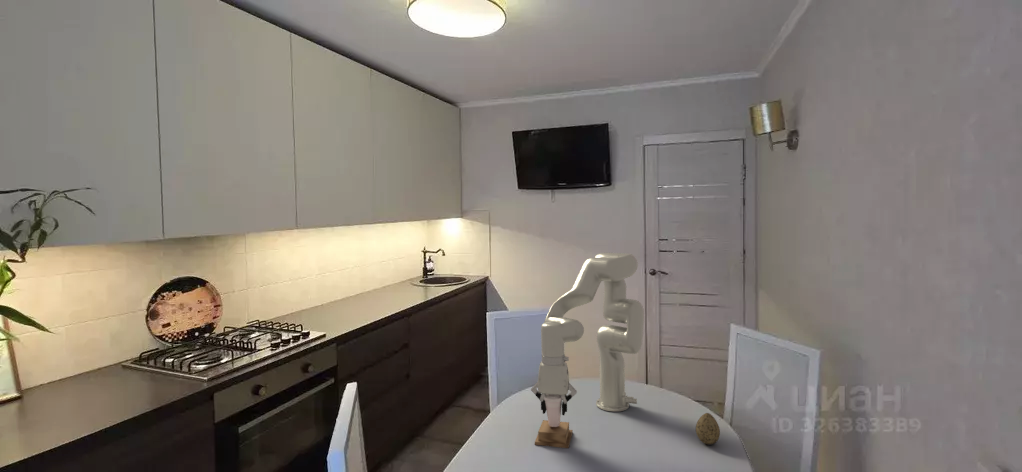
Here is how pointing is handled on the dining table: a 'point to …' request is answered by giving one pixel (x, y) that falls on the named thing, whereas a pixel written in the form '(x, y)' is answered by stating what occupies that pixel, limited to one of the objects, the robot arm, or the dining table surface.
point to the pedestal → (554, 435)
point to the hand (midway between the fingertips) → (554, 412)
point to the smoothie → (553, 409)
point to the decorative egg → (707, 429)
